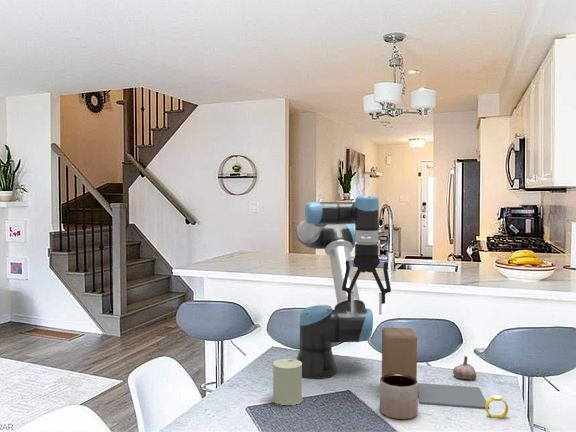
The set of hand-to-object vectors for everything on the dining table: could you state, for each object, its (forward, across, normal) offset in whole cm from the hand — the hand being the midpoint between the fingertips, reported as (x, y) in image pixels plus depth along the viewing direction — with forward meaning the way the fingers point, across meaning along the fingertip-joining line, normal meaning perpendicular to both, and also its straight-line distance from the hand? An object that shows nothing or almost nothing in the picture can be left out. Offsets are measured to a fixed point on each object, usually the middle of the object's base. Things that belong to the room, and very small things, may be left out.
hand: (366, 312), depth 159 cm
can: (+26, -24, -13) cm, 37 cm away
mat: (+25, +26, 0) cm, 37 cm away
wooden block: (+26, +10, 0) cm, 28 cm away
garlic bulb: (+26, +34, +18) cm, 46 cm away
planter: (+26, +10, -15) cm, 32 cm away
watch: (+26, +38, -13) cm, 47 cm away
